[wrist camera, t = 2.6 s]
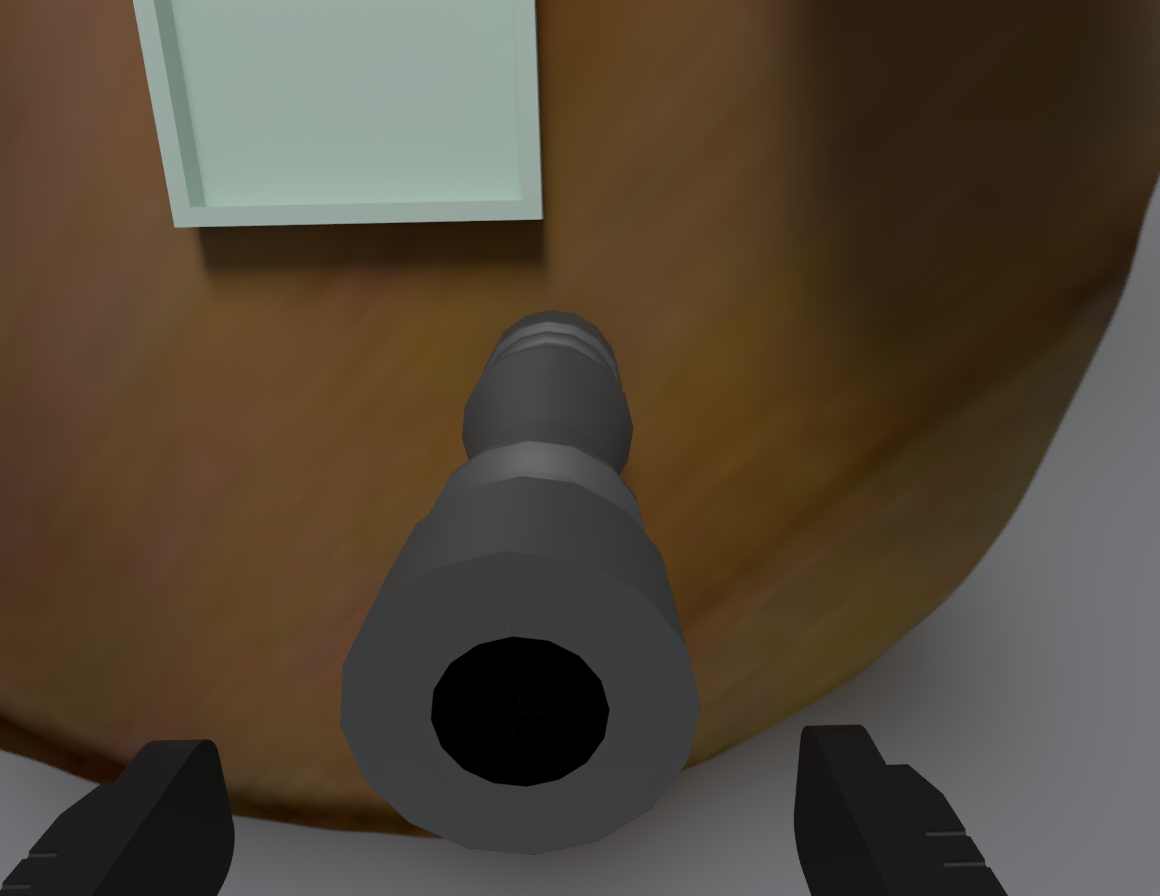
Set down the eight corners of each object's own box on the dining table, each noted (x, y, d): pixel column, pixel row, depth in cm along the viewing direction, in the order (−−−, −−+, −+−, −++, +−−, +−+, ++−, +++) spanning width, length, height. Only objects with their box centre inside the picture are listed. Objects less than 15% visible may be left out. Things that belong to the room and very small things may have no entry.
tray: (197, 226, 33) (174, 227, 31) (123, -198, 28) (91, -227, 26) (543, 218, 33) (542, 219, 31) (529, -205, 28) (526, -235, 26)
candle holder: (559, 460, 37) (540, 922, 13) (462, 380, 35) (243, 729, 12) (643, 369, 35) (798, 699, 11) (547, 282, 34) (494, 450, 10)
